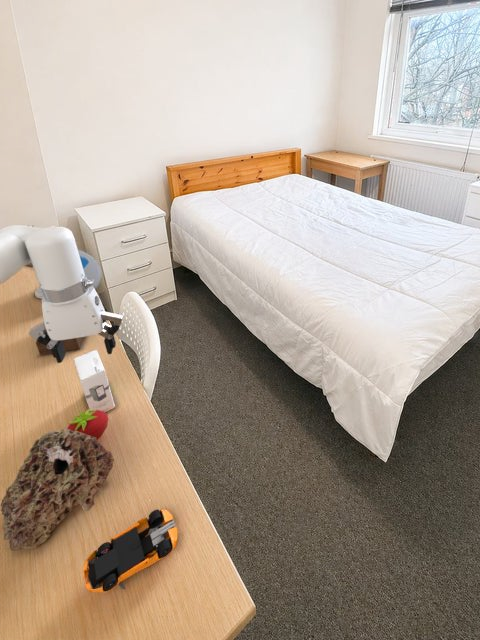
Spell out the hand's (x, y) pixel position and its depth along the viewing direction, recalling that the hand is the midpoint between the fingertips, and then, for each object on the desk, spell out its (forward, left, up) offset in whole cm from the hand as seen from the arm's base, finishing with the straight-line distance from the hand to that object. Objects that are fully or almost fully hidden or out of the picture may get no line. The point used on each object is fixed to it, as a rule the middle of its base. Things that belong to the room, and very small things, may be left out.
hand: (87, 354), depth 77 cm
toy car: (+12, -34, -11) cm, 38 cm away
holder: (-14, +27, -15) cm, 34 cm away
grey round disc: (-19, +53, -8) cm, 57 cm away
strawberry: (+1, -11, -15) cm, 19 cm away
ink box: (0, 0, -15) cm, 15 cm away
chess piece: (-27, +55, -15) cm, 63 cm away
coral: (-7, -19, -4) cm, 21 cm away
